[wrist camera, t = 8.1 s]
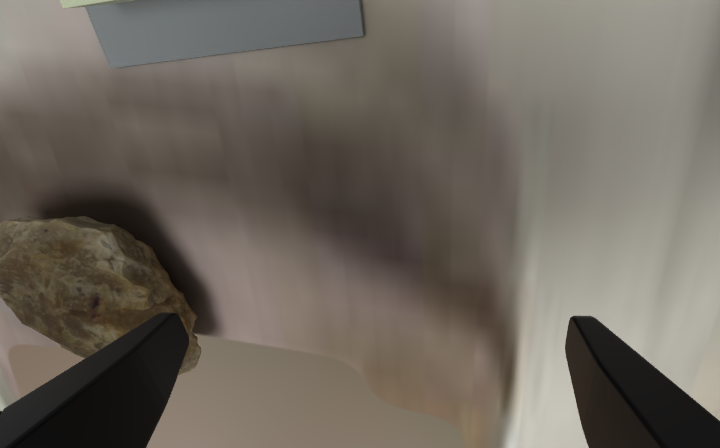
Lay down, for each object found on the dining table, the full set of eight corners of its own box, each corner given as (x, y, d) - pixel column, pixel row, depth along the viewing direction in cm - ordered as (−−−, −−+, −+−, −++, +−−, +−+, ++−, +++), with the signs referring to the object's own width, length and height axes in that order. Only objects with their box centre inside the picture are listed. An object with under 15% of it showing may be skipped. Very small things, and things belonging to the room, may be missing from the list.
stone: (-30, 220, 24) (-91, 275, 17) (108, 160, 26) (103, 188, 19) (102, 368, 30) (96, 451, 23) (206, 308, 32) (227, 368, 25)
